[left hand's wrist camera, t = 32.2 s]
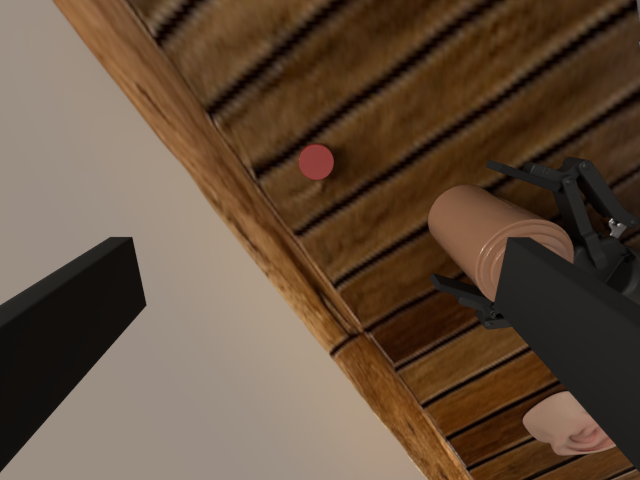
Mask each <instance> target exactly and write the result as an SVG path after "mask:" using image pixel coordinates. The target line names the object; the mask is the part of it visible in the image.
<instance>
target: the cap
mask: <svg viewBox="0 0 640 480" xmlns="http://www.w3.org/2000/svg"><path fill="white" fill-rule="evenodd" d="M333 158H334V157H333V155H332V153H331V150H329V148H328V147H327V146H325V145H323V144H321V143H313V144H310V145H308V146H307V147H305V148H304V149H303V151H302V153H301V154H300V158H299V167H300V169H301V171H302V173H303V174H304V175H305V176H306V177H308V178H310V179H313V180H320V179H323V178H325V177H327V176H328V175H329V174H330V173H331V171H332V170H333V166H334V159H333Z"/></svg>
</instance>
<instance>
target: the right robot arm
mask: <svg viewBox="0 0 640 480" xmlns="http://www.w3.org/2000/svg"><path fill="white" fill-rule="evenodd" d="M486 167H487V168H490V169H493V170H495V171H498V172H501V173H504V174H507V175H509V176H512V177H515V178H518V179H520V180H523V181H526V182H529V183H532V184H534V185H537V186H540V187H543V188H546V189H548V190H551V191H552V192H553V195H554V198H555V200H556V203H557V206H558V209H559V211H560V214H561V217H562V220H563V222H564V225H565V228H564V231H565V232H566V233H567V234H568V236H569V238H570V239H571V242H572V245H573V250H574V260H573V264H574V265H576V266H577V267H579V268H580V269H582V270H584V271H585V272H587V273H588V274H590V275H592V276H593V277H595V278H597V279H598V280H600V281H601V282H603V283H605V284H606V285H608V286H609V287H611V288H613V289H614V290H616V291H618V292H619V293H621V294H622V295H624V296H626V297H627V298H629V299H630V300H632V301H634V302H635V303H637V304H638V305H640V250H638V249H635V248H633V247H630V246H627V245H624V244H621V243H620V242H619V240H618V239H617V238H618V237H619V236H620V235H621V234H622V232H623V231H624V230H625V229H626V228H627V227H629V228H635V227H637V226H638V225H639V223H640V219H639V218H638V217H636V216H634V215H633V214H631V213H629V212H627V211H625V209H624V208H623V206H622V205H621V204H620V202H619V201H618V199H617V198H616V196H615V195H614V194H613V192H612V191H611V189H610V188H609V186H608V185H607V184H606V182H605V181H604V179H603V178H602V177H601V175H600V174H599V172H598V171H597V169H596V168H595V167H594V165H593V164H592V162H591V161H589V160H584V159H579V158H573V157H568V158H566V159H565V160H564V162H563V166H562V167H560V168H559V169H557V170H554V169H551V168H549V167H546V166H543V165H540V164H537V163H533V162H528V163H526V165H525V166H524V168H523V170H522V171H520V170H518V169H515V168H512V167H509V166H507V165H504V164H501V163H497V162H494V161H491V160H489V162H488V164H487V166H486ZM578 187H579V188H578ZM579 189H580V190H581V191H582V193H583V194H584V195H585V197H586V198H587V200H588V201H589V202H590V204H591V205H592V206H593V208H594V209H595V210H596V211H597V212H598V213H599V214H600V215H602V217H601V218H600V220H601V221H602V223H603V225H604V226H605V231H604V232H598V233H596V232H595V231H594V230H593V229H592V226H591V223H590V220H589V217H588V214H587V211H586V208H585V206H584V203H583V200H582V197H581V194H580V191H579ZM430 279H431V281H432V282H433V284H434V286H435V287H436V289H437V290H439V291H443V292H446V293H449V294H453V295H454V296H455V298H456V299H457V301H458V302H459V303H460V304H461V305H464V306H467V307H470V308H474V309H477V310H478V311H477V312H476V316H477V318H478V319H479V320H480V322H481V323H482V324H483V326H484V327H485V328H486V329H498V328H506V327H512V326H511V325H510V324H509V322H508V321H507V320H506V319H505V318H504V317H503V316H502V314H501V313H500V312H499V311H498V310H497V309H496V308H495V306H494V302H493V301H491V300H489V299H488V298H487V297H486V296H485V295H484V294H483V293H482V292H481V291H480V290H479V289H478V288H477V287H476V286H473V285H469V284H466V283H463V282H460V281H457V280H453V279H450V278H447V277H444V276H441V275H437V274H434V273H432V275H431V277H430Z"/></svg>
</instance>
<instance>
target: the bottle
mask: <svg viewBox="0 0 640 480" xmlns="http://www.w3.org/2000/svg"><path fill="white" fill-rule="evenodd" d="M428 225H429V230H430V233H431V235H432V236H433V238H434V239H435V240H436V241H437V243H438V244H439V245H440V246H441V247H442V248H443V249H444V250H445V252H446V253H447V254H448V255H449V256H450V257H451V258H452V259H453V261H454V262H455V263H456V264H457V265H458V266H459V267H460V268H461V270H462V271H463V272H464V273H465V274H466V275H467V276H468V277H469V279H470V280H471V281H472V282H473V283H474V284H475V285H476V286H477V288H478V289H479V290H480V291H481V292H482V293H483V294H484V295H485V296H486V297H487V298H488V299H489V300H491V301H493V302H494V300H495V296H496V291H497V286H498V281H499V277H500V272H501V267H502V262H503V257H504V253H505V248H506V243H507V238H508V237H530V238H532V239H534V240H535V241H537V242H538V243H540V244H542V245H543V246H545V247H547V248H548V249H550V250H551V251H553V252H555V253H556V254H558V255H559V256H561V257H563V258H564V259H566V260H567V261H569V262H571V263H572V264H573V260H574V250H573V245H572V242H571V239H570V238H569V236H568V234H567V233H566V232H565V231H564V230H563V229H562V228H561V227H560V226H558V225H557V224H555V223H553V222H551V221H549V220H547V219H544V218H542V217H540V216H538V215H536V214H534V213H532V212H530V211H528V210H526V209H524V208H522V207H520V206H518V205H516V204H514V203H512V202H510V201H507V200H505V199H503V198H501V197H499V196H497V195H495V194H493V193H491V192H489V191H487V190H485V189H483V188H481V187H478V186H475V185H459V186H456V187H453V188H451V189H449V190H447V191H445V192H444V193H443V194H442V195H440V196H439V197H438V198H437V200H436V201H435V202H434V204H433V206H432V207H431V210H430V213H429V218H428Z"/></svg>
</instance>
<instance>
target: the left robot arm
mask: <svg viewBox="0 0 640 480" xmlns="http://www.w3.org/2000/svg"><path fill="white" fill-rule="evenodd" d="M637 6H638V14H639V21H640V0H637ZM639 43H640V41H639ZM145 306H146V301H145V296H144V291H143V286H142V281H141V277H140V272H139V267H138V262H137V258H136V253H135V248H134V243H133V238H132V237H110V238H108V239H106V240H105V241H103V242H102V243H100V244H98V245H97V246H95V247H94V248H92V249H90V250H89V251H87V252H85V253H84V254H82V255H81V256H79V257H77V258H76V259H74V260H73V261H71V262H69V263H68V264H66V265H64V266H63V267H61V268H60V269H58V270H56V271H55V272H53V273H52V274H50V275H48V276H47V277H45V278H43V279H42V280H40V281H39V282H37V283H35V284H34V285H32V286H31V287H29V288H27V289H26V290H24V291H23V292H21V293H19V294H18V295H16V296H15V297H13V298H11V299H10V300H8V301H6V302H5V303H3V304H2V305H0V472H1V471H2V470H3V469H4V467H5V466H6V465H7V464H8V463H9V462H10V461H11V460H12V458H13V457H14V456H15V455H16V454H17V453H18V451H19V450H20V449H21V448H22V447H23V446H24V445H25V444H26V442H27V441H28V440H29V439H30V438H31V437H32V435H33V434H34V433H35V432H36V431H37V430H38V429H39V428H40V426H41V425H42V424H43V423H44V422H45V421H46V420H47V418H48V417H49V416H50V415H51V414H52V413H53V412H54V410H55V409H56V408H57V407H58V406H59V405H60V404H61V402H62V401H63V400H64V399H65V398H66V397H67V396H68V394H69V393H70V392H71V391H72V390H73V389H74V388H75V386H76V385H77V384H78V383H79V382H80V381H81V380H82V378H83V377H84V376H85V375H86V374H87V373H88V372H89V370H90V369H91V368H92V367H93V366H94V365H95V364H96V362H97V361H98V360H99V359H100V358H101V357H102V356H103V354H104V353H105V352H106V351H107V350H108V349H109V348H110V346H111V345H112V344H113V343H114V342H115V341H116V340H117V338H118V337H119V336H120V335H121V334H122V333H123V332H124V330H125V329H126V328H127V327H128V326H129V325H130V324H131V322H132V321H133V320H134V319H135V318H136V317H137V316H138V314H139V313H140V312H141V311H142V310H143V309H144V308H145ZM494 306H495V308H496V309H497V310H498V311H499V312H500V313H501V314H502V316H503V317H504V318H505V319H506V320H507V321H508V322H509V324H510V325H511V326H512V327H513V328H514V329H515V330H516V332H517V333H518V334H519V335H520V336H521V337H522V338H523V340H524V341H525V342H526V343H527V344H528V345H529V346H530V348H531V349H532V350H533V351H534V352H535V353H536V354H537V356H538V357H539V358H540V359H541V360H542V361H543V362H544V364H545V365H546V366H547V367H548V368H549V369H550V370H551V372H552V373H553V374H554V375H555V376H556V377H557V378H558V380H559V381H560V382H561V383H562V384H563V385H564V386H565V388H566V389H567V390H568V391H569V392H570V393H571V394H572V396H573V397H574V398H575V399H576V400H577V401H578V402H579V404H580V405H581V406H582V407H583V408H584V409H585V410H586V412H587V413H588V414H589V415H590V416H591V417H592V418H593V420H594V421H595V422H596V423H597V424H598V425H599V426H600V428H601V429H602V430H603V431H604V432H605V433H606V434H607V436H608V437H609V438H610V439H611V440H612V441H613V442H614V444H615V445H616V446H617V447H618V448H619V449H620V450H621V452H622V453H623V454H624V455H625V456H626V457H627V458H628V460H629V461H630V462H631V463H632V464H633V465H634V466H635V468H636V469H637V470H638V471H639V472H640V305H638V304H637V303H635V302H634V301H632V300H630V299H629V298H627V297H626V296H624V295H622V294H621V293H619V292H618V291H616V290H614V289H613V288H611V287H609V286H608V285H606V284H605V283H603V282H601V281H600V280H598V279H597V278H595V277H593V276H592V275H590V274H588V273H587V272H585V271H584V270H582V269H580V268H579V267H577V266H576V265H574V264H572V263H571V262H569V261H567V260H566V259H564V258H563V257H561V256H559V255H558V254H556V253H555V252H553V251H551V250H550V249H548V248H547V247H545V246H543V245H542V244H540V243H538V242H537V241H535V240H534V239H532V238H530V237H508V238H507V243H506V248H505V253H504V257H503V262H502V267H501V272H500V277H499V281H498V286H497V291H496V296H495V300H494Z"/></svg>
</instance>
